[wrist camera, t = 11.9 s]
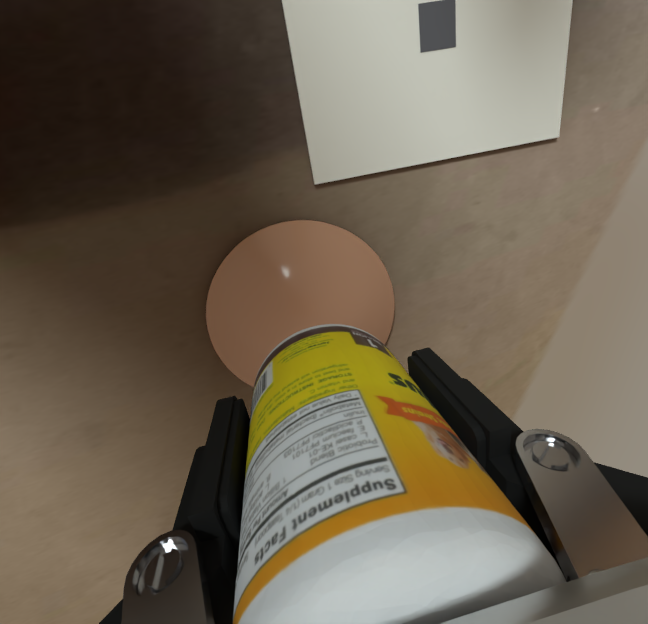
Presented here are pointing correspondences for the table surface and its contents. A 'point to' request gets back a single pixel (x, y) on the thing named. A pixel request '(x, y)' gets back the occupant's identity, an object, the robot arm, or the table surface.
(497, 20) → the white flat square slab
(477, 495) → the supplement bottle
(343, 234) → the peach domed disc
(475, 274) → the table surface
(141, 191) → the table surface
